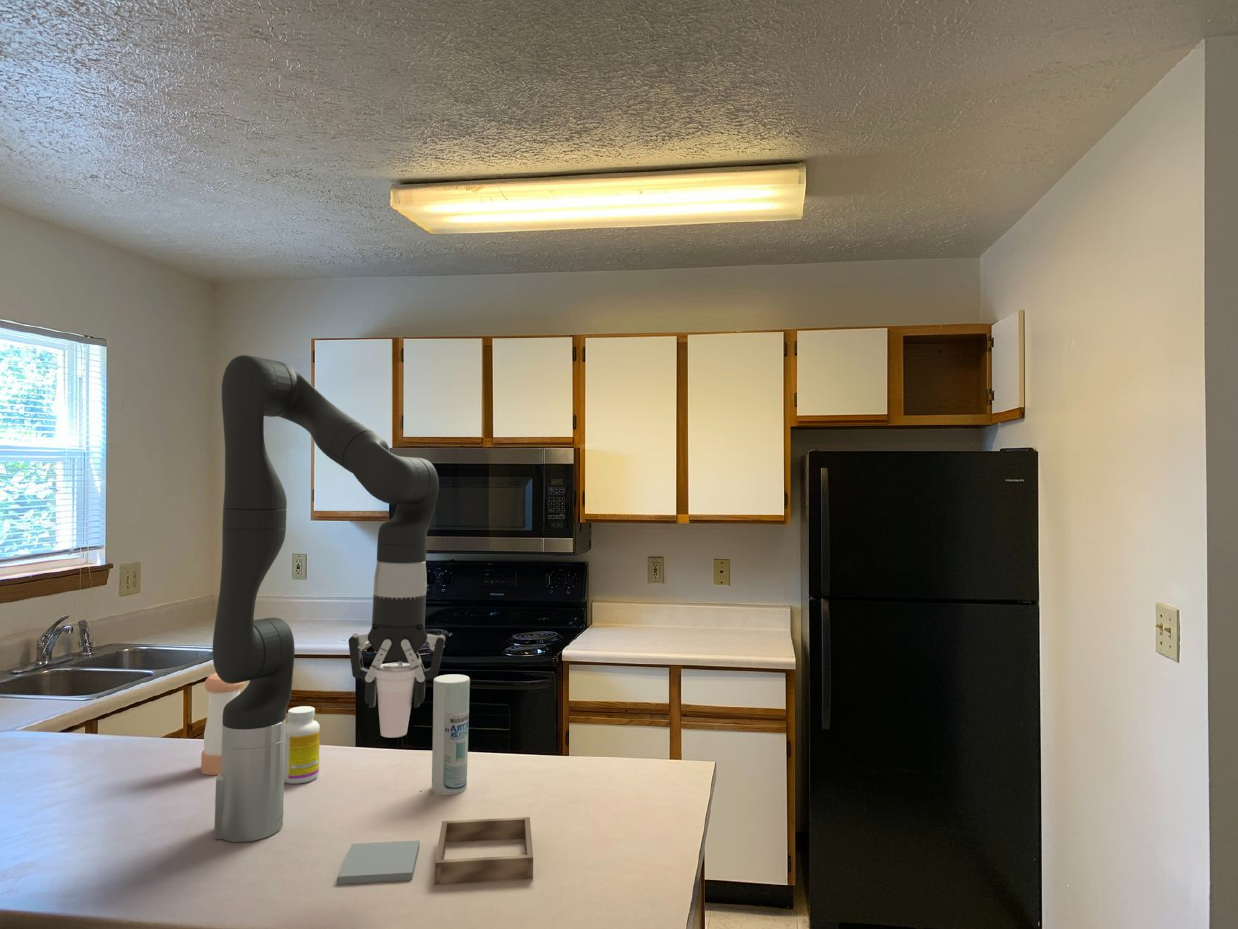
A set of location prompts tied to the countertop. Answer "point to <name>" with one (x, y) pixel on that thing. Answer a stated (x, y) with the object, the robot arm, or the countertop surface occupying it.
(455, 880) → the frame
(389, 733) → the smoothie
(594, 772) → the countertop surface
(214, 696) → the salt shaker
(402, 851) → the mat
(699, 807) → the countertop surface
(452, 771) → the spray can
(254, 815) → the robot arm
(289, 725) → the supplement bottle
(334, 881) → the countertop surface
